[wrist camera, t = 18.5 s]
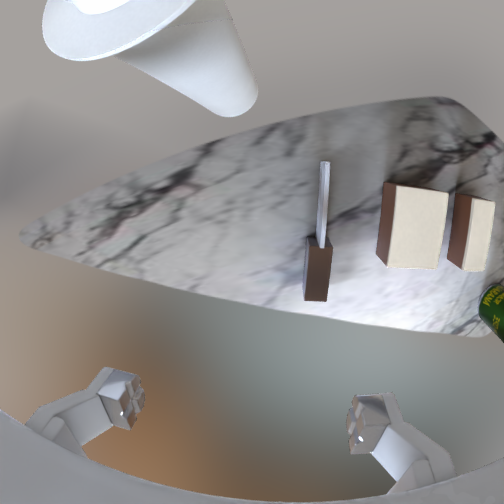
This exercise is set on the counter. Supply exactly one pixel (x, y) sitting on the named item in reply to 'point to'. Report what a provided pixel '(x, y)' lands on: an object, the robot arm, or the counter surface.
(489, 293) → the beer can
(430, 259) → the cake
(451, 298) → the counter surface
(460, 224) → the cake slice
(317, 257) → the knife
